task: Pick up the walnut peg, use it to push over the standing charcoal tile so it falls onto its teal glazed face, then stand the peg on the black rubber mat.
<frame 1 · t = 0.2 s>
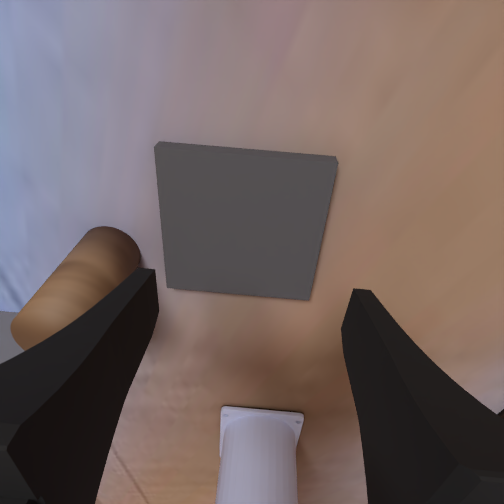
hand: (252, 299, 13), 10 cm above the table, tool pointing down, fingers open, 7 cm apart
peg: (111, 251, 25), on the table
mat: (242, 225, 23), on the table
tile: (32, 326, 30), on the table
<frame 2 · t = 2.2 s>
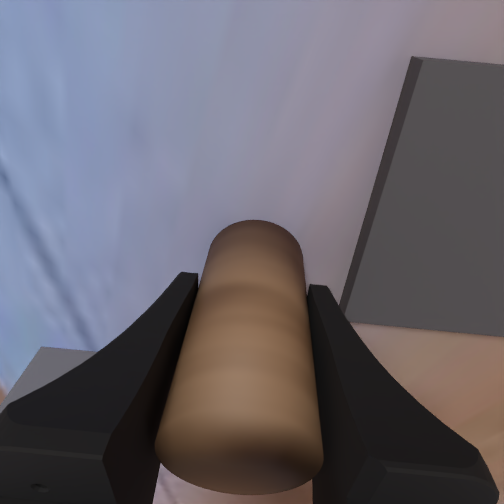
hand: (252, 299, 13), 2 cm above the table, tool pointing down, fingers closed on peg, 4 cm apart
peg: (255, 261, 15), on the table, touching gripper
mat: (500, 219, 13), on the table
tile: (101, 369, 20), on the table
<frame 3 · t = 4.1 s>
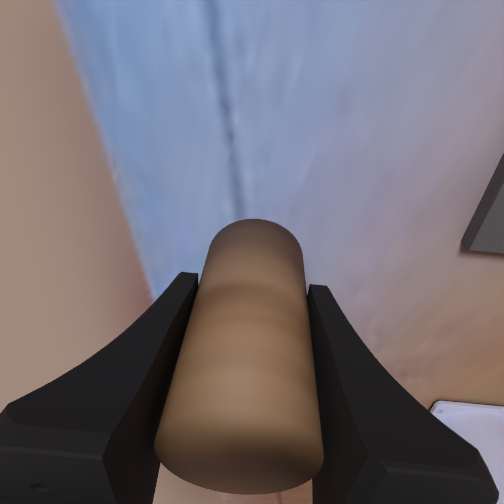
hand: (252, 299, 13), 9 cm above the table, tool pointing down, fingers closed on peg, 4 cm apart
peg: (255, 260, 15), point 6 cm above the table, touching gripper
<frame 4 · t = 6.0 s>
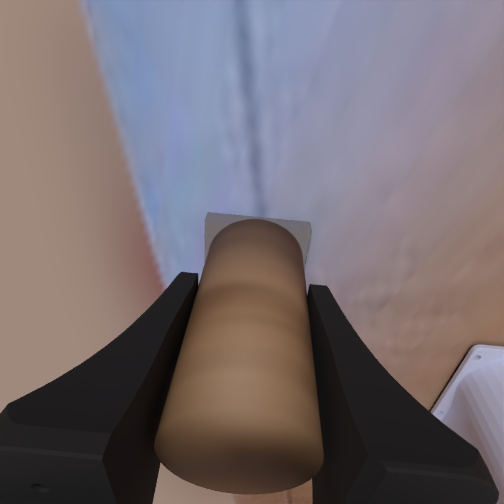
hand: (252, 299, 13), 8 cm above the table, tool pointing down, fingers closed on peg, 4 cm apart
peg: (255, 260, 15), point 6 cm above the table, touching gripper
tile: (259, 213, 21), on the table, tilted 90°
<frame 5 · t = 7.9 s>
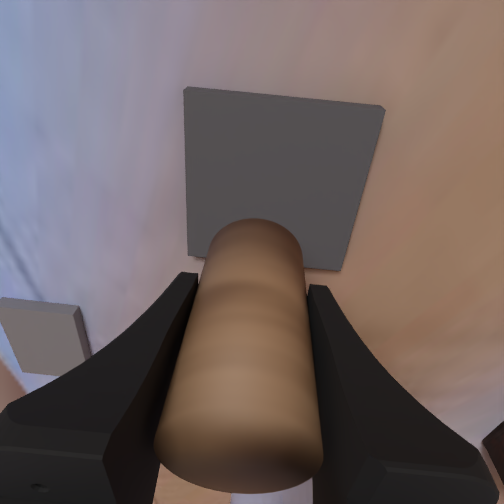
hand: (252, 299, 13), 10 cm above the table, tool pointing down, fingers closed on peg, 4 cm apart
peg: (254, 259, 15), point 7 cm above the table, touching gripper
mat: (273, 185, 21), on the table
tile: (43, 297, 28), on the table, tilted 90°
when the fingers open (4 cm above the table, at t = 9.5 s): peg stays where it is, resting on mat.
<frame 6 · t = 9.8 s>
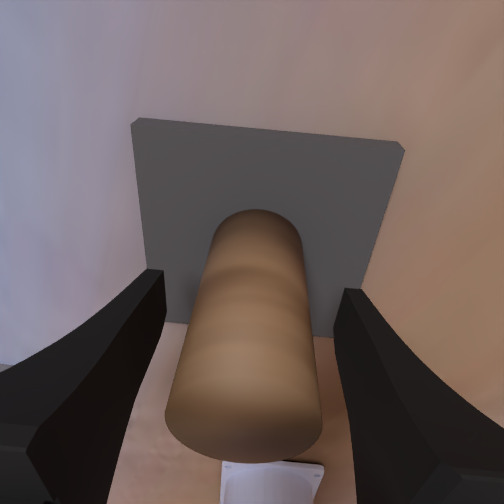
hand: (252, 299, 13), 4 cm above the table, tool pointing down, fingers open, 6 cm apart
peg: (256, 249, 16), point 1 cm above the table, touching mat
mat: (257, 238, 16), on the table
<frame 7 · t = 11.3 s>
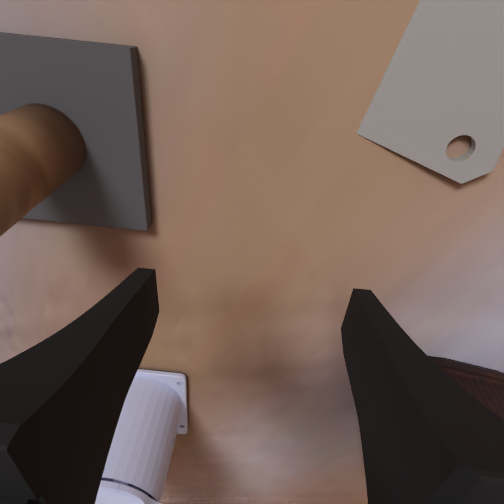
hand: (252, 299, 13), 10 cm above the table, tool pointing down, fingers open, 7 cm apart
peg: (48, 142, 19), point 1 cm above the table, touching mat
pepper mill: (451, 381, 31), on the table
mat: (58, 138, 20), on the table
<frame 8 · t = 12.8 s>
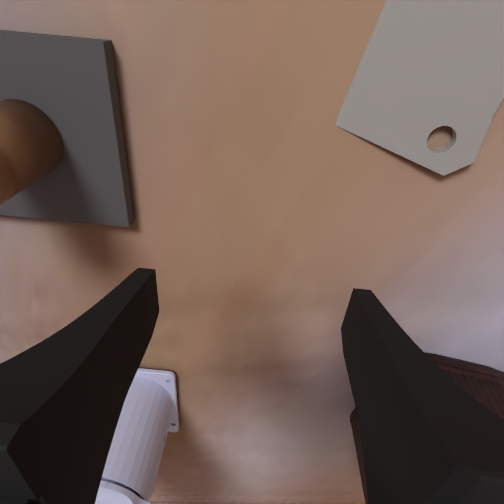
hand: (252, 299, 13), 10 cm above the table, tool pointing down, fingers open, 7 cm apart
peg: (26, 138, 19), point 1 cm above the table, touching mat
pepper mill: (442, 377, 30), on the table
mat: (37, 134, 20), on the table
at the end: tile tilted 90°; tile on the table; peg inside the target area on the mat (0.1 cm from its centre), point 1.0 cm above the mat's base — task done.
